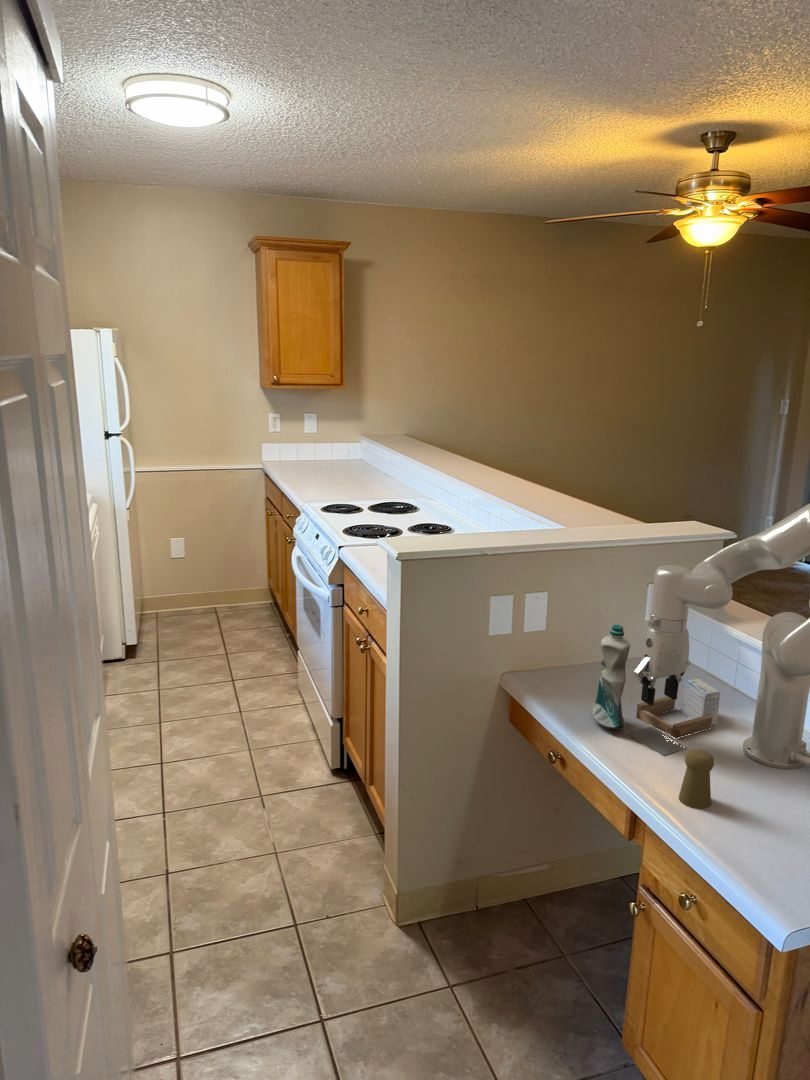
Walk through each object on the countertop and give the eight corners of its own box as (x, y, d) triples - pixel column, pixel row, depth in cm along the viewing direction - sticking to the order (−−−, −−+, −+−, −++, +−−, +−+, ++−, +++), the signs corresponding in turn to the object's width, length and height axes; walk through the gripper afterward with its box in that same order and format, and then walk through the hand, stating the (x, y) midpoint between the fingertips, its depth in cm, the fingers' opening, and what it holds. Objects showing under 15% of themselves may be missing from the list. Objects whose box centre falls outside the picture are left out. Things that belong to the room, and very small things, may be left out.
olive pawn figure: (694, 815, 142) (700, 763, 139) (671, 798, 147) (676, 747, 144) (718, 808, 144) (724, 756, 141) (694, 792, 149) (700, 741, 147)
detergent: (584, 714, 182) (591, 615, 176) (613, 713, 183) (621, 615, 177) (603, 740, 169) (611, 636, 163) (634, 739, 170) (643, 635, 164)
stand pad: (687, 750, 165) (687, 748, 165) (663, 757, 162) (663, 755, 162) (650, 728, 175) (650, 726, 175) (627, 735, 172) (627, 732, 172)
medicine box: (717, 725, 177) (721, 691, 175) (701, 728, 175) (705, 694, 173) (695, 711, 184) (698, 678, 182) (679, 713, 183) (683, 680, 181)
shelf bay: (710, 730, 174) (712, 716, 173) (675, 740, 169) (677, 726, 169) (670, 708, 185) (671, 695, 184) (636, 717, 180) (637, 704, 179)
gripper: (650, 634, 155) (641, 714, 159) (710, 623, 162) (700, 700, 167) (625, 622, 161) (617, 699, 166) (683, 612, 169) (674, 686, 173)
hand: (658, 699), depth 166 cm, fingers open, 6 cm apart
